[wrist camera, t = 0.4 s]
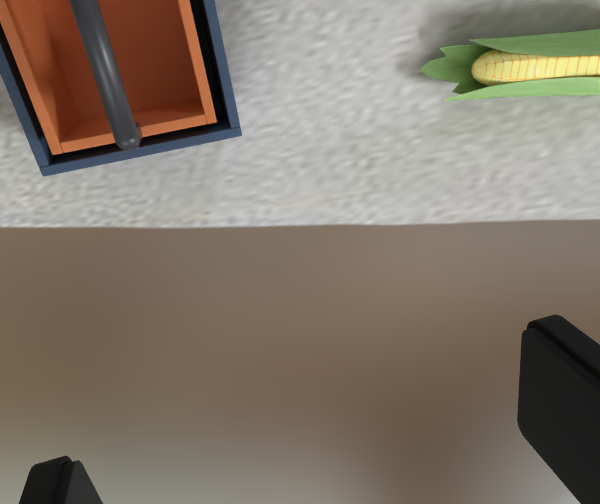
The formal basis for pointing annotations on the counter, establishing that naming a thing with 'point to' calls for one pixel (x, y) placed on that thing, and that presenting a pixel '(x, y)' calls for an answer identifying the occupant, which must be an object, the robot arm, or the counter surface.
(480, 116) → the counter surface
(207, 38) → the lower bin
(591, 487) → the robot arm
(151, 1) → the upper bin
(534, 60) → the edible corn
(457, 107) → the counter surface
